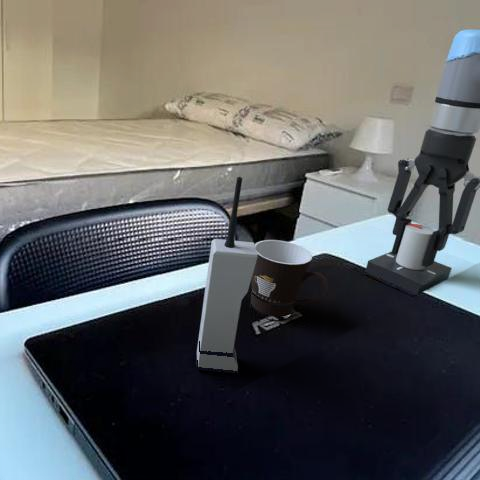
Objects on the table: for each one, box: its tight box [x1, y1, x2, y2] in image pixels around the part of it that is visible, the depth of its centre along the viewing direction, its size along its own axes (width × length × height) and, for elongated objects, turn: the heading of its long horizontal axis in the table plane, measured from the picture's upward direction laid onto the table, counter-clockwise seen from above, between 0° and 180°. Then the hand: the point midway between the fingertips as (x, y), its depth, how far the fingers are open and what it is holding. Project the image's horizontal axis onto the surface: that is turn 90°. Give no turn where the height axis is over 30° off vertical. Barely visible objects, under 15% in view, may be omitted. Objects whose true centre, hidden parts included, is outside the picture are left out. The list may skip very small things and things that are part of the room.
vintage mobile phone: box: [196, 176, 258, 372], centre depth 59 cm, size 4×5×25 cm
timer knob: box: [396, 222, 436, 270], centre depth 90 cm, size 5×5×7 cm
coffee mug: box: [250, 239, 330, 316], centre depth 75 cm, size 12×9×10 cm
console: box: [364, 251, 453, 296], centre depth 92 cm, size 10×12×3 cm
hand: (411, 258), depth 91 cm, fingers open, 5 cm apart
